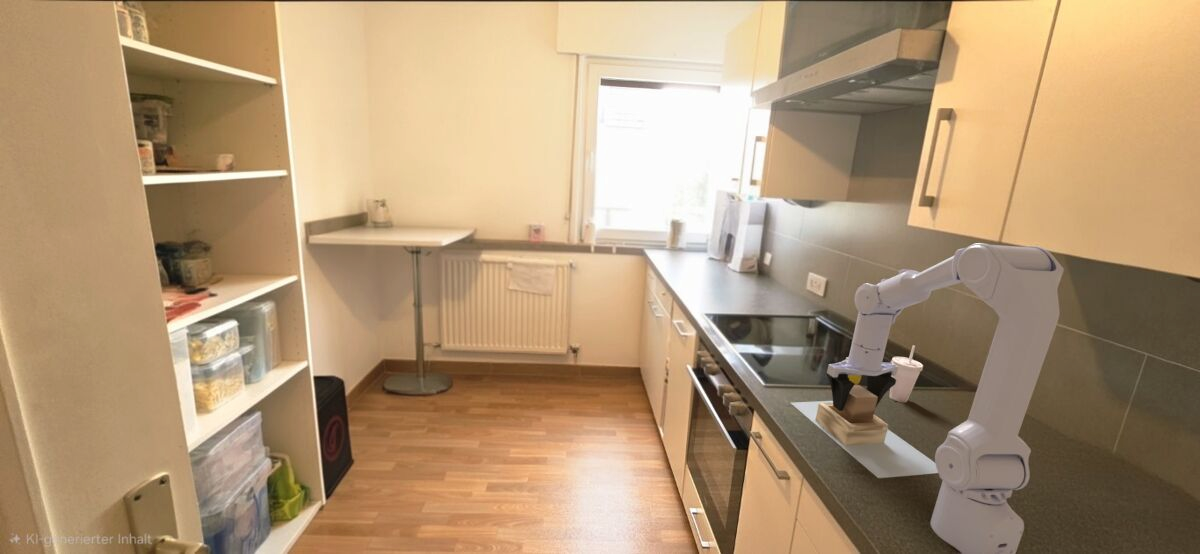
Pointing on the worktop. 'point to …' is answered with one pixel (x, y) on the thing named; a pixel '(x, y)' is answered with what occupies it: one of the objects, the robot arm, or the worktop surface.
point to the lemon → (854, 378)
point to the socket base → (851, 427)
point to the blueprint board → (879, 451)
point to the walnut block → (858, 406)
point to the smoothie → (905, 377)
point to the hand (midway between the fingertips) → (854, 407)
